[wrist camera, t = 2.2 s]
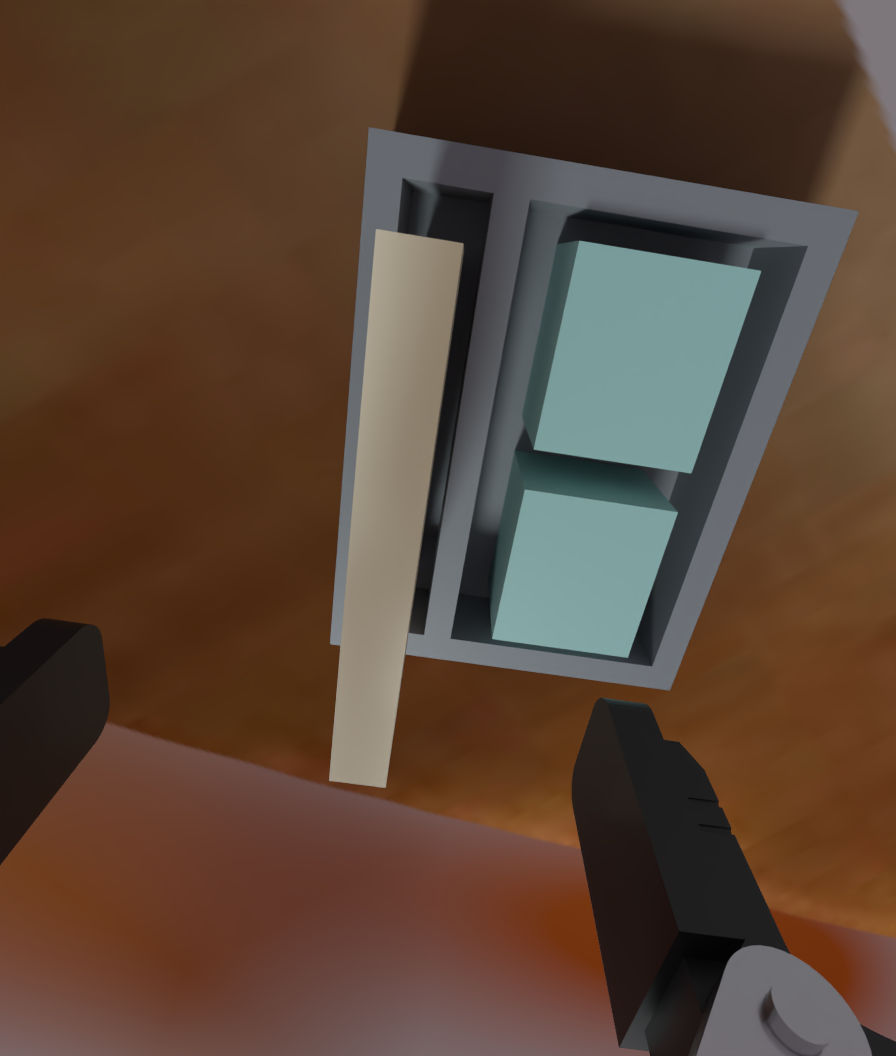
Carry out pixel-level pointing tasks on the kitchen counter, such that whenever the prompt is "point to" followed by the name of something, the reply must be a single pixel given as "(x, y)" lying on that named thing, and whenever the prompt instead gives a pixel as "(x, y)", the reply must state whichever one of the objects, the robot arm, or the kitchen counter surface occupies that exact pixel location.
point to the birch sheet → (391, 489)
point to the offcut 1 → (633, 354)
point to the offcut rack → (507, 355)
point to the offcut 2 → (576, 554)
